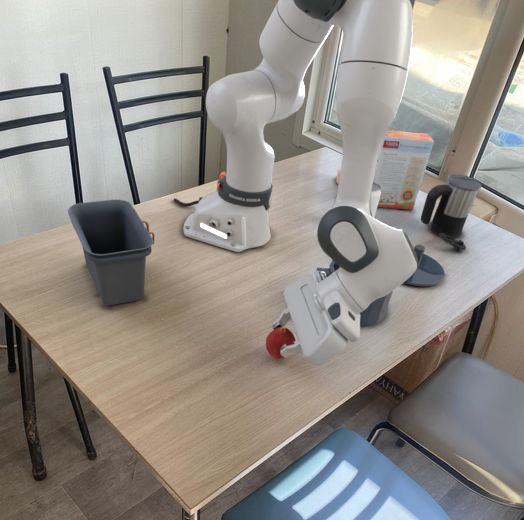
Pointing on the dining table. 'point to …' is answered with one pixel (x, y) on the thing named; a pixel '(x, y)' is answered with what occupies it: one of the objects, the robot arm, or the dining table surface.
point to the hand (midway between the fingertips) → (278, 341)
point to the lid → (426, 270)
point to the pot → (374, 310)
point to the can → (374, 198)
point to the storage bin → (113, 248)
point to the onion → (279, 341)
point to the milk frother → (451, 207)
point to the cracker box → (401, 168)
